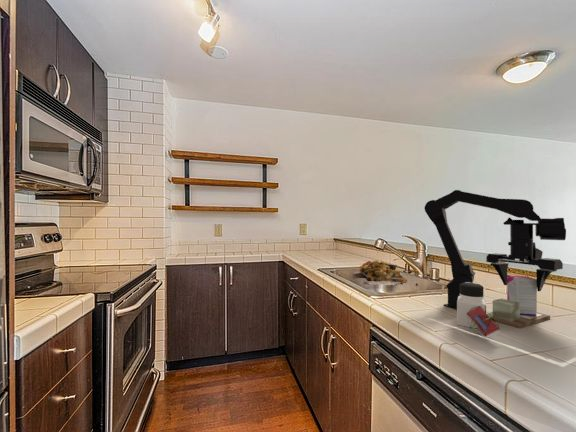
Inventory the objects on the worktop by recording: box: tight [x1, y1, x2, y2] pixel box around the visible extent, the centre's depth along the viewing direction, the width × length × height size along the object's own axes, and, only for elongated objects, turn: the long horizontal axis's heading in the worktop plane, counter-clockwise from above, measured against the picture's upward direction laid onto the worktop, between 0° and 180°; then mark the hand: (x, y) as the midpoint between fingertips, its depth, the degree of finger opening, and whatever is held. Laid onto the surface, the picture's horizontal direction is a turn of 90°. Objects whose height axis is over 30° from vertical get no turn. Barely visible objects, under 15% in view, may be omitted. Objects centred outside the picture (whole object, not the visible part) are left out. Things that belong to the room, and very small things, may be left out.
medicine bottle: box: [456, 282, 487, 330], centre depth 89 cm, size 7×7×12 cm
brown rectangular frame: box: [486, 298, 551, 329], centre depth 94 cm, size 18×10×6 cm, turn 117°
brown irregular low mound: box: [353, 260, 419, 286], centre depth 156 cm, size 35×26×11 cm
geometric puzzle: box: [466, 306, 501, 337], centre depth 80 cm, size 7×7×8 cm
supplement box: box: [506, 274, 538, 316], centre depth 95 cm, size 6×6×12 cm
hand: (521, 288), depth 95 cm, fingers open, 9 cm apart
